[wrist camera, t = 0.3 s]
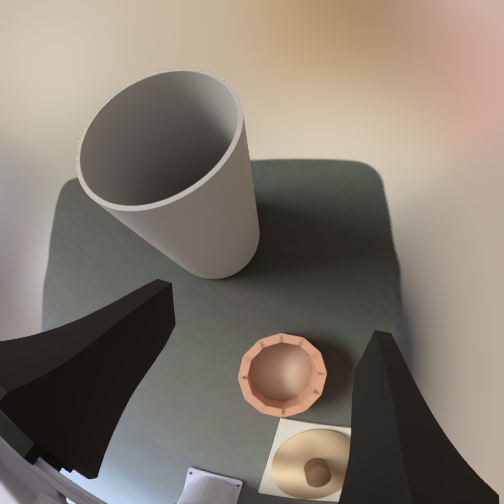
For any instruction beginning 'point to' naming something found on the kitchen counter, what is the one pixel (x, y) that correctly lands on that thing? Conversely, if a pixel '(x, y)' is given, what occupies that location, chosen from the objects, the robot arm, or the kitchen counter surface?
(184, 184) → the cylinder vase
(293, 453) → the lid
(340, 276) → the kitchen counter surface
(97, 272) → the kitchen counter surface
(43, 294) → the kitchen counter surface
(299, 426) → the mat
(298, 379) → the bowl
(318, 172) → the kitchen counter surface
